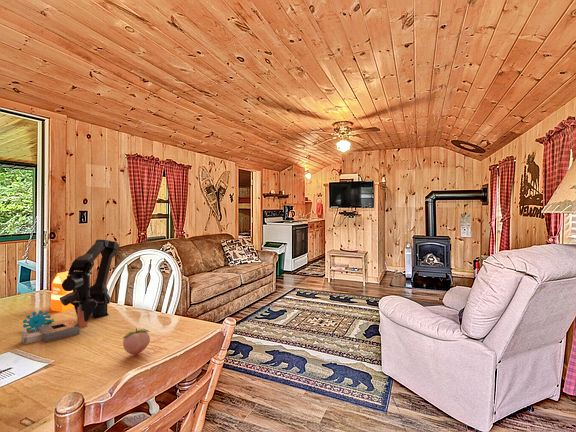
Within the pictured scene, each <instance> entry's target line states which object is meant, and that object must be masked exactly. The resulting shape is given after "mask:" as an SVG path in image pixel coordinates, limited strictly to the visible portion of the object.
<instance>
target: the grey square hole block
mask: <svg viewBox="0 0 576 432" xmlns="http://www.w3.org/2000/svg"><path fill="white" fill-rule="evenodd" d="M36 332H41V333H42V334H43V340H42V341H43V342H44V343H49V342H53V341H57V340H62V339H65V338H68V337H73V336H77V335H80V328H79V325H77V323H76V322H74V321H73V320H72V319H66V320H61V321H57V322H52V324H47V325H42V326H38V327H37V329H36Z"/></svg>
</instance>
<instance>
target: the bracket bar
mask: <svg viewBox="0 0 576 432" xmlns="http://www.w3.org/2000/svg"><path fill="white" fill-rule="evenodd" d="M39 341H43V334H42V333H41V332H37V331H35V332H31V333H28V331H27V330H26V328H22V329H21V343H22V344H23V345H24V346H25V345H29V344H31V343H36V342H39Z"/></svg>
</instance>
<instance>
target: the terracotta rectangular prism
mask: <svg viewBox="0 0 576 432" xmlns="http://www.w3.org/2000/svg"><path fill="white" fill-rule="evenodd" d="M79 308H80V307H77V314H76V317H77V319H76V320H77V321H76V322H77V323H76V324H77V325H79V329H81V328H85V327H88V321H87V322H85V321H84V316H83V311H82V310H80V309H79Z"/></svg>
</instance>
